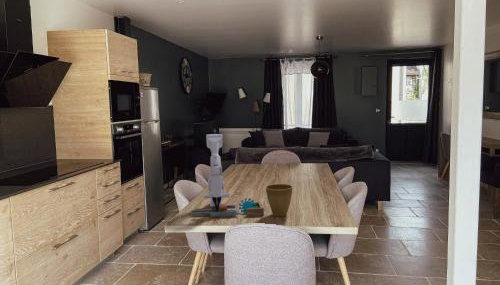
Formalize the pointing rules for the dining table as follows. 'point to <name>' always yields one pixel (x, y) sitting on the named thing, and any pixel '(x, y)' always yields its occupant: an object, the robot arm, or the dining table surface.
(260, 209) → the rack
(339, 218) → the dining table surface
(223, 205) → the orange block
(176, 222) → the dining table surface
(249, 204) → the gear
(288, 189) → the plant pot
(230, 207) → the socket
